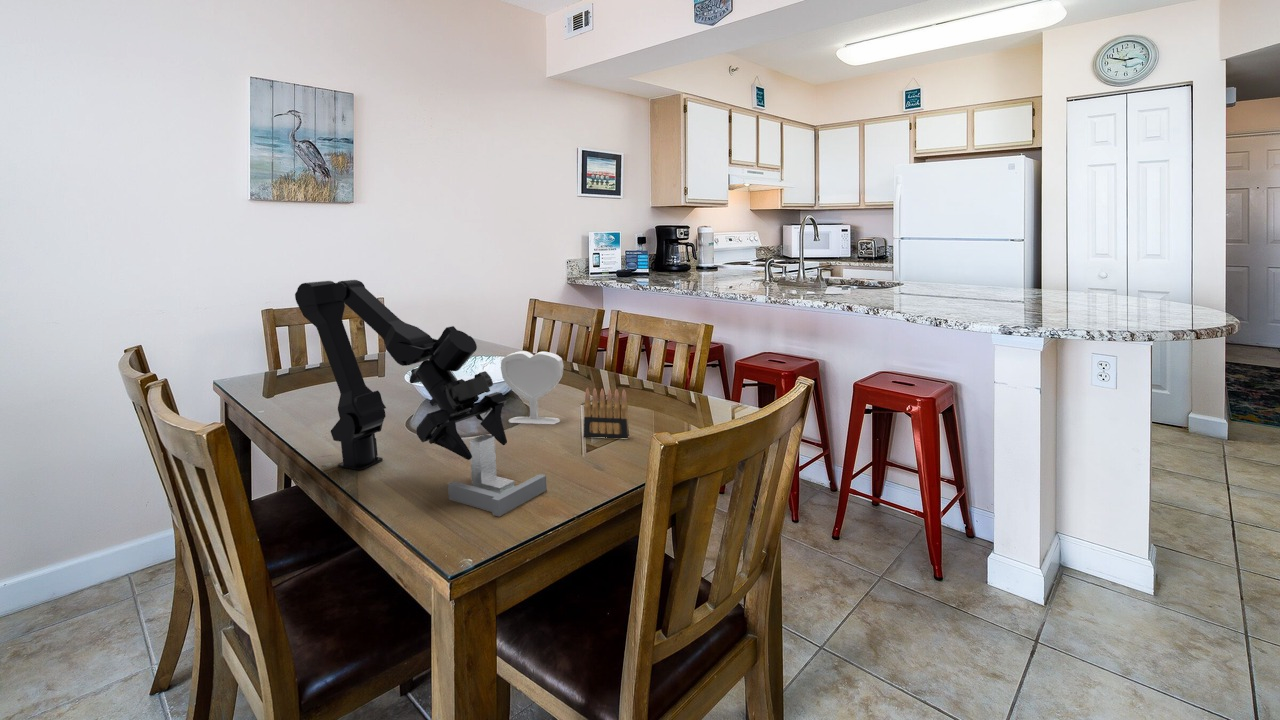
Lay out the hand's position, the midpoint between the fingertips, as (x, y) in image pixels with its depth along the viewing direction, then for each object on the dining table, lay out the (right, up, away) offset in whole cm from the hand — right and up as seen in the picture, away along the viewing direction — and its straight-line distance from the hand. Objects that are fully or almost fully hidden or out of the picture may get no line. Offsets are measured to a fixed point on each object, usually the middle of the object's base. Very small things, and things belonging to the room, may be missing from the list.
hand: (488, 451), depth 118 cm
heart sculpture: (+1, +1, +46) cm, 46 cm away
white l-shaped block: (+1, -8, +1) cm, 8 cm away
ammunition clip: (+20, -2, +33) cm, 39 cm away
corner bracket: (+2, -8, 0) cm, 8 cm away
